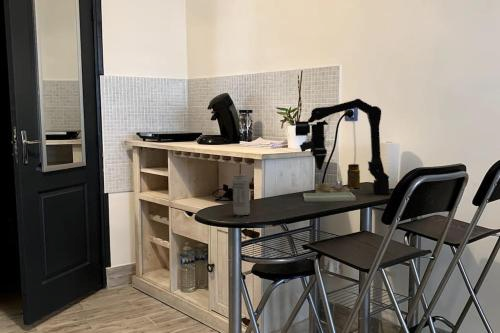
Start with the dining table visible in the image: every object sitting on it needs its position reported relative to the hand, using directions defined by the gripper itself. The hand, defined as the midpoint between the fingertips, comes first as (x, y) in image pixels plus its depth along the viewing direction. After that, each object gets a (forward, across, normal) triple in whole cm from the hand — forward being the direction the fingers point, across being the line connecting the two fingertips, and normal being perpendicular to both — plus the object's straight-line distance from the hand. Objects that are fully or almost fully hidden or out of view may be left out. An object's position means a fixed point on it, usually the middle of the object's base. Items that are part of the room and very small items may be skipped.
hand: (318, 169), depth 231 cm
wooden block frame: (+12, 0, +6) cm, 13 cm away
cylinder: (+12, 0, +9) cm, 15 cm away
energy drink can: (+12, +49, -32) cm, 60 cm away
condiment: (+12, -20, +18) cm, 30 cm away
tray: (+12, +14, +3) cm, 19 cm away
